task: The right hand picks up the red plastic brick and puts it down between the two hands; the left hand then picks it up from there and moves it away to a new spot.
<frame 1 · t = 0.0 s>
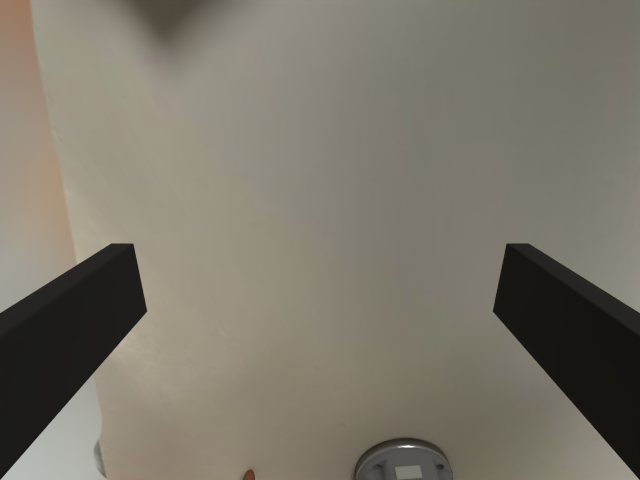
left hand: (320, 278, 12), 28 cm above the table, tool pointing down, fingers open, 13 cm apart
brown ellipsoid: (251, 469, 55), on the table
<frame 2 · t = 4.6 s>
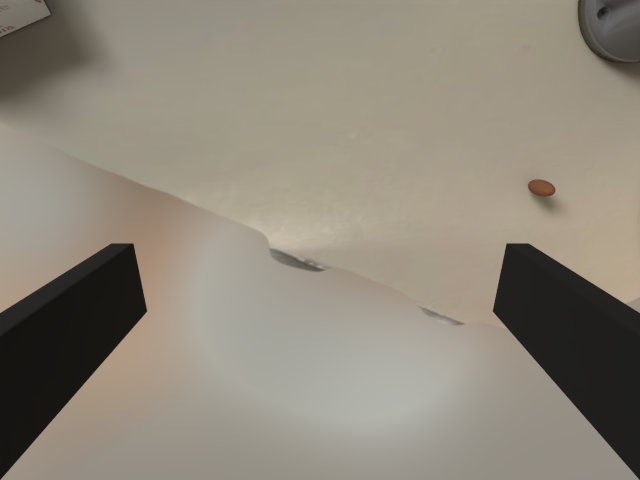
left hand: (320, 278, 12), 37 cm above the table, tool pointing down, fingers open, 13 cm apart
brown ellipsoid: (529, 183, 49), on the table
when the right hand's fingers open (1 cm above the table, at t = 8.7 s): brick stays where it is, on the table.
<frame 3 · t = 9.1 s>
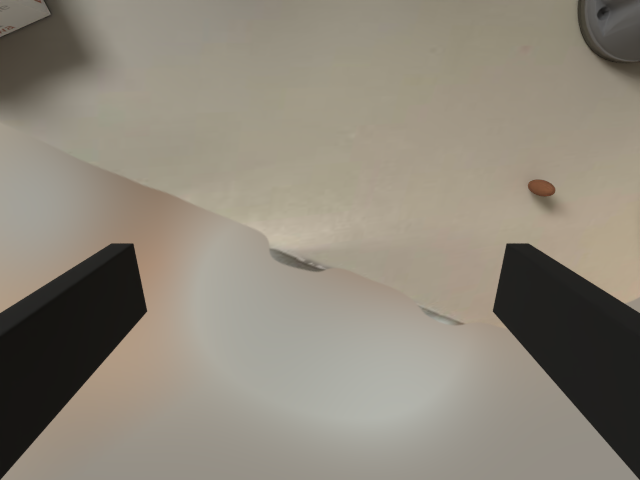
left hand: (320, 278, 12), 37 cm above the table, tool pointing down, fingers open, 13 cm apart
brown ellipsoid: (529, 183, 49), on the table
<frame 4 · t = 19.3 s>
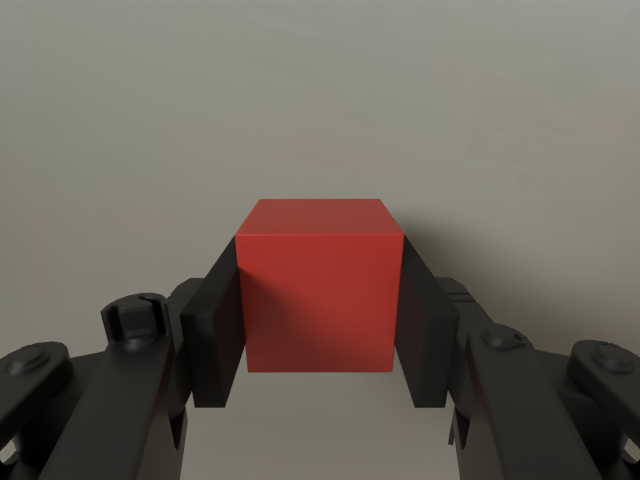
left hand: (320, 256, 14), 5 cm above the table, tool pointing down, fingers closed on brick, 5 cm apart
brick: (319, 255, 14), point 5 cm above the table, touching left hand
when the left hand's fingers open (1 cm above the table, at t = 28.0 s): brick stays where it is, on the table.
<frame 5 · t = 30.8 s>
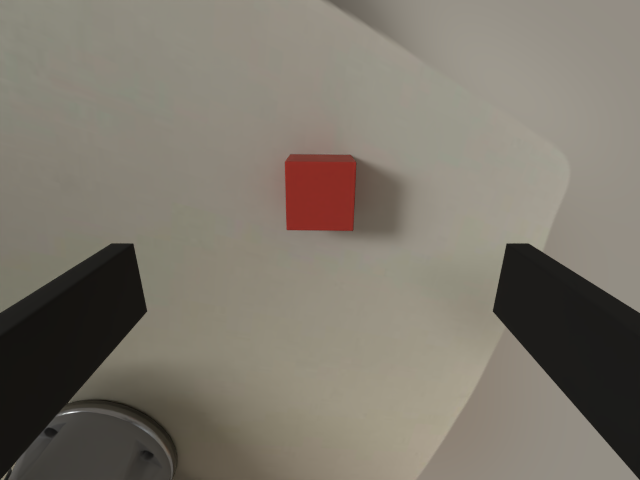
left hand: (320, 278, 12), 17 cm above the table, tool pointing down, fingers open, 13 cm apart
brick: (320, 185, 28), on the table
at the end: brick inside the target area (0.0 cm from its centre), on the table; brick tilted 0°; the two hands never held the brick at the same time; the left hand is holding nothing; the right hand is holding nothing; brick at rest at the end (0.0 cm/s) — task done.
